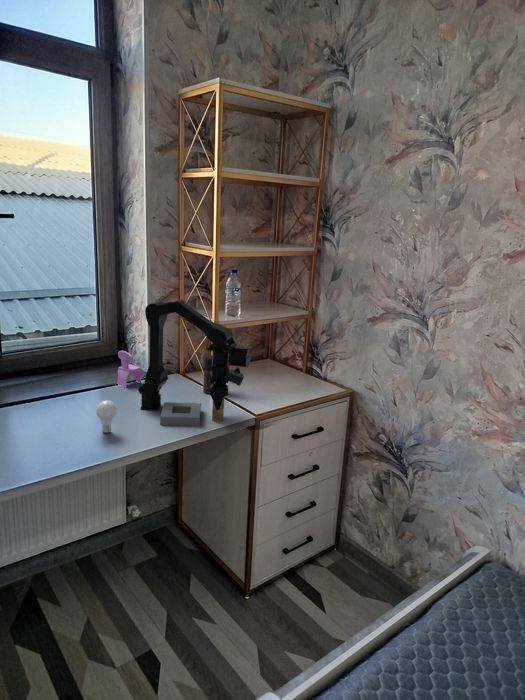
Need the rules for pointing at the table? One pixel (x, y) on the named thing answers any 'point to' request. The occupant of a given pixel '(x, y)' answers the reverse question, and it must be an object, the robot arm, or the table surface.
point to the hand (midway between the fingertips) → (218, 405)
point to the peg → (218, 412)
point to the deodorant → (207, 374)
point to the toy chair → (127, 369)
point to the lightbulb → (106, 414)
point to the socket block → (180, 414)
